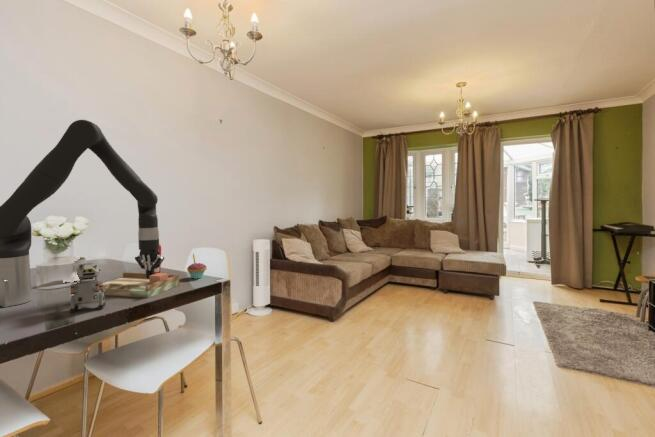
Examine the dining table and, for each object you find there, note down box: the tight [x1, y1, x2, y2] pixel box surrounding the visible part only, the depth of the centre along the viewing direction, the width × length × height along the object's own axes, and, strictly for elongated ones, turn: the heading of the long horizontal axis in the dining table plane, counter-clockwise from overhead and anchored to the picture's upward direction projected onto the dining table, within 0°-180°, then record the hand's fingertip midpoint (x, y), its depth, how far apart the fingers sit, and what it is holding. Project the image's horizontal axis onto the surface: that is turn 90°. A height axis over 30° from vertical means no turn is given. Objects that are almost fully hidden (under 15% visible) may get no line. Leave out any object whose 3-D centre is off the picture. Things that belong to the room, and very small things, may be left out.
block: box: [149, 272, 169, 284], centre depth 130 cm, size 5×5×4 cm
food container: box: [74, 257, 88, 281], centre depth 143 cm, size 12×6×10 cm, turn 179°
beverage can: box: [154, 244, 162, 274], centre depth 155 cm, size 6×6×15 cm
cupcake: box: [186, 253, 208, 280], centre depth 147 cm, size 9×8×12 cm
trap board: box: [101, 271, 180, 299], centre depth 129 cm, size 18×28×4 cm, turn 79°
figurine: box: [69, 262, 106, 314], centre depth 107 cm, size 9×12×15 cm
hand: (150, 278), depth 131 cm, fingers closed
